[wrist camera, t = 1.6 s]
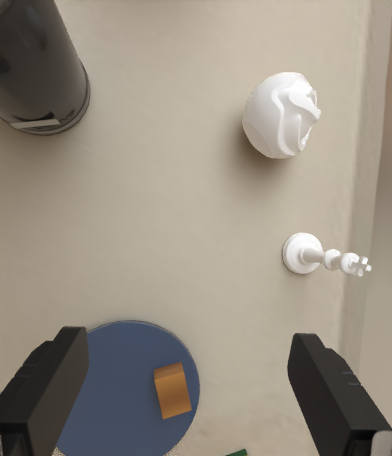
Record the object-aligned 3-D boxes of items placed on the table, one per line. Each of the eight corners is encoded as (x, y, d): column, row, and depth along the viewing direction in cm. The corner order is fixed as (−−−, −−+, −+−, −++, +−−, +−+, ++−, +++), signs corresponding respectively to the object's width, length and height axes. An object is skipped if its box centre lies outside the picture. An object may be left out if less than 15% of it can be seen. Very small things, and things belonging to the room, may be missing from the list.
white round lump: (282, 174, 31) (325, 160, 24) (223, 150, 30) (249, 127, 22) (303, 110, 31) (352, 75, 24) (245, 84, 30) (278, 38, 22)
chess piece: (276, 265, 32) (334, 287, 22) (290, 226, 32) (354, 230, 22) (311, 278, 32) (383, 304, 23) (325, 240, 33) (401, 249, 23)
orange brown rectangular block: (153, 369, 28) (154, 380, 26) (181, 361, 29) (183, 371, 27) (161, 406, 29) (162, 419, 27) (188, 397, 29) (191, 410, 27)
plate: (16, 368, 27) (11, 374, 26) (158, 292, 29) (159, 294, 28) (92, 493, 29) (90, 502, 28) (221, 411, 31) (223, 417, 30)
